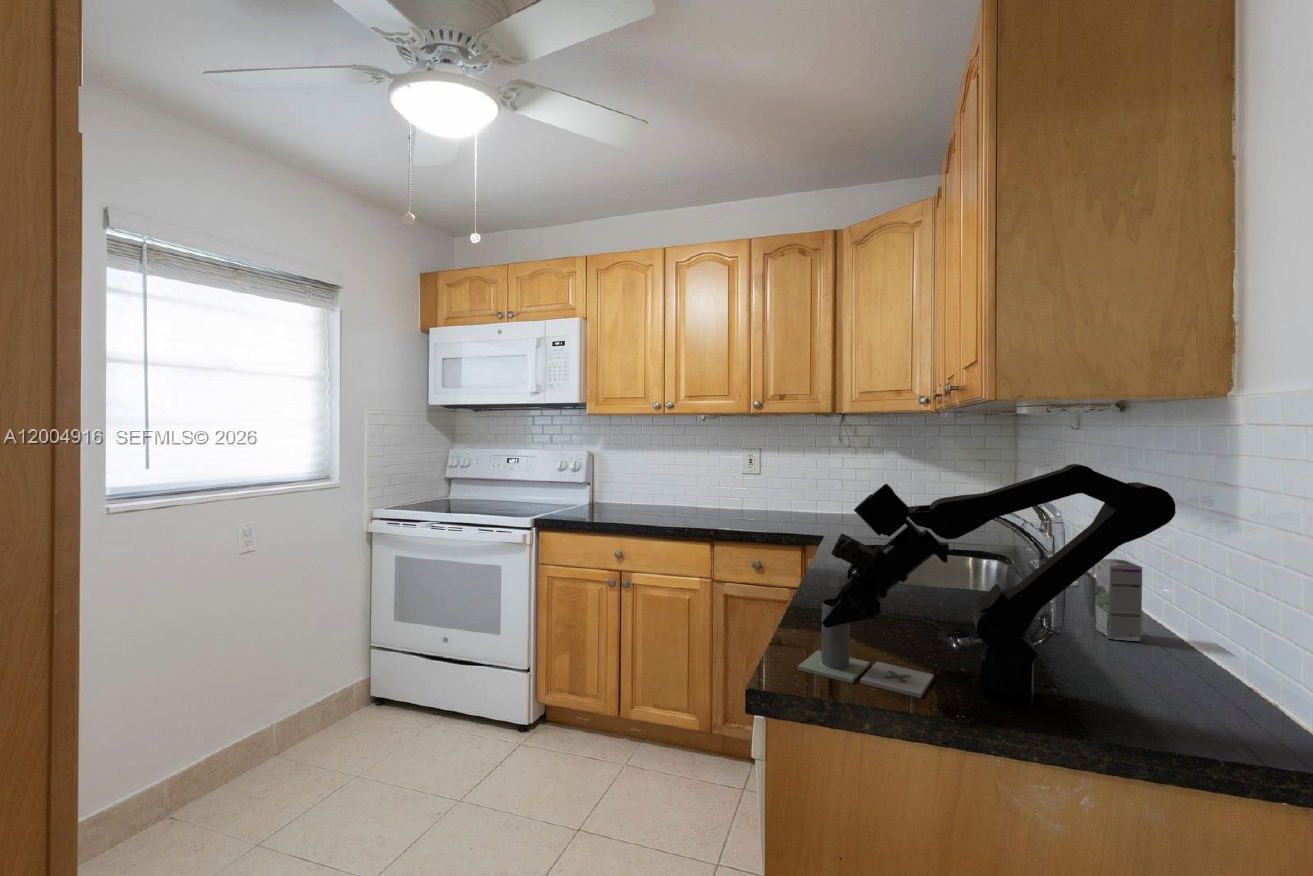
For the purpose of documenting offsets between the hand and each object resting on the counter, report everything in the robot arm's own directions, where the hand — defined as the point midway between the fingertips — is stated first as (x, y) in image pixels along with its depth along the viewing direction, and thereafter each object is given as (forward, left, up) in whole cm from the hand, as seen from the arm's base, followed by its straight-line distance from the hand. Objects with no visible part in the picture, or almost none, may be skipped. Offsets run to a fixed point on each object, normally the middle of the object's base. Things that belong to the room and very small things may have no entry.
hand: (827, 617), depth 105 cm
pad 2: (-11, -1, -8) cm, 14 cm away
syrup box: (-40, -48, -9) cm, 63 cm away
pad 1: (-1, 0, -8) cm, 8 cm away
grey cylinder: (-1, 0, -8) cm, 8 cm away
